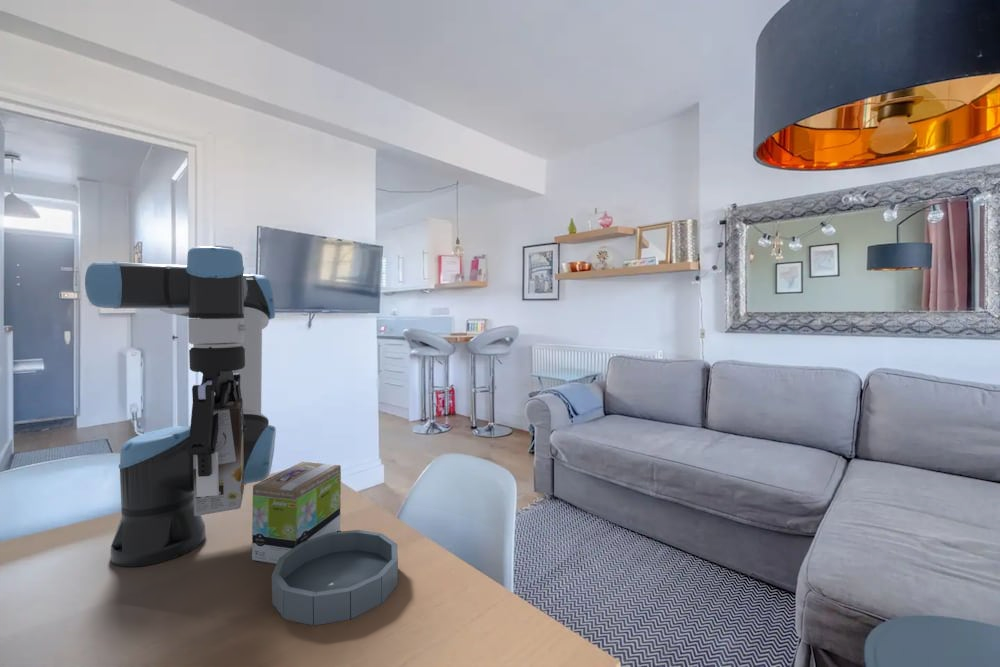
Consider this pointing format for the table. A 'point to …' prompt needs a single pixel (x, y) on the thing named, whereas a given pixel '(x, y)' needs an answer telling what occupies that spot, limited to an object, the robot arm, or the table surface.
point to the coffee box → (226, 462)
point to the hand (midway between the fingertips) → (220, 482)
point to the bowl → (335, 577)
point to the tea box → (294, 508)
